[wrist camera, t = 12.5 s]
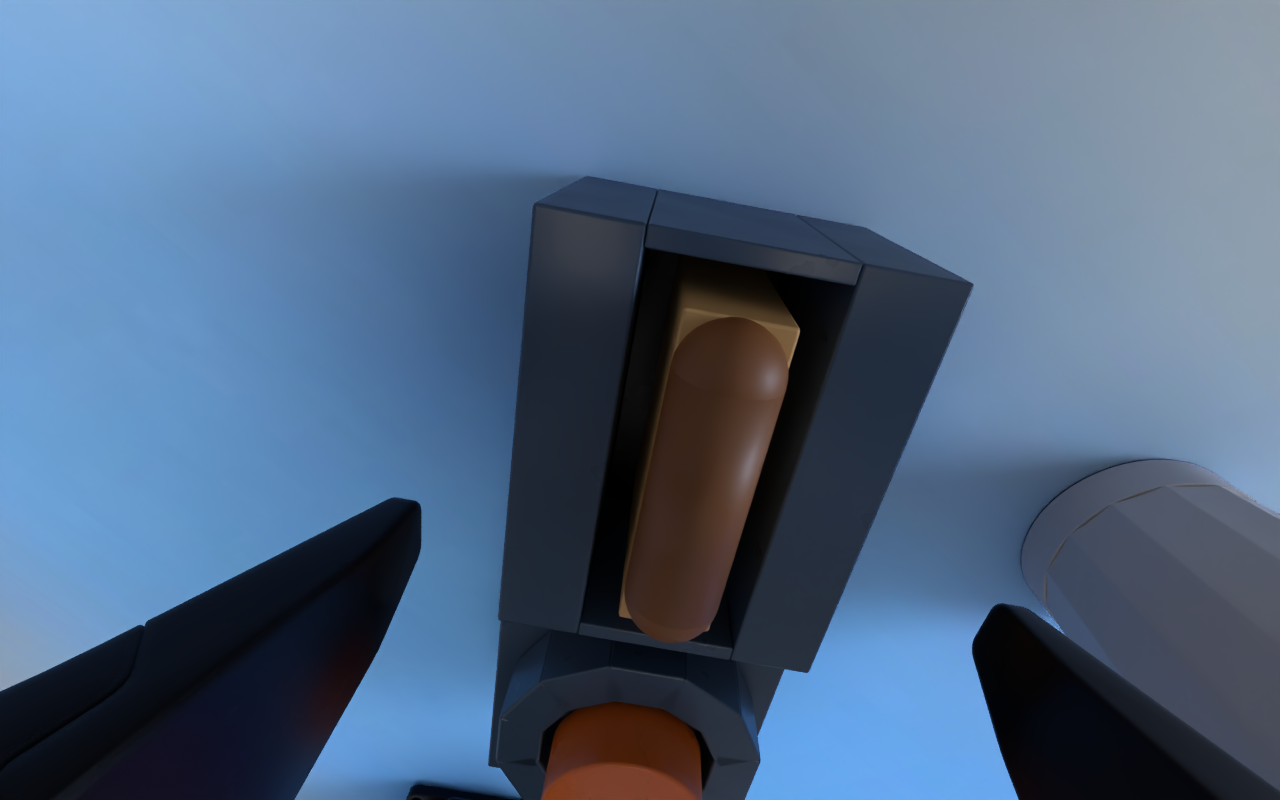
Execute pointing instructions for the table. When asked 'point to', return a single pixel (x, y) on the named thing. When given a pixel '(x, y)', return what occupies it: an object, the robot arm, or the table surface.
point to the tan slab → (703, 443)
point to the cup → (1172, 595)
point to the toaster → (621, 390)
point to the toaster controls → (618, 671)
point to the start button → (623, 756)
